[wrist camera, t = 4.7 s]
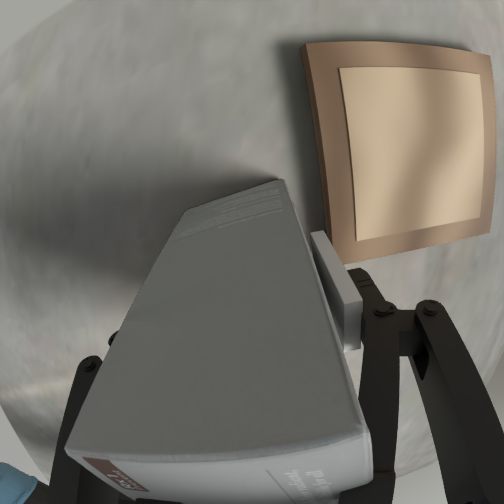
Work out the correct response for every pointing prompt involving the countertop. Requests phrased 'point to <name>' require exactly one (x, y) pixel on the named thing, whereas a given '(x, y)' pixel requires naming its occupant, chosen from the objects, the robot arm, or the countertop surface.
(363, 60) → the tan flat square board
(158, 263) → the skincare box
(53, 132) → the countertop surface
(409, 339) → the robot arm
